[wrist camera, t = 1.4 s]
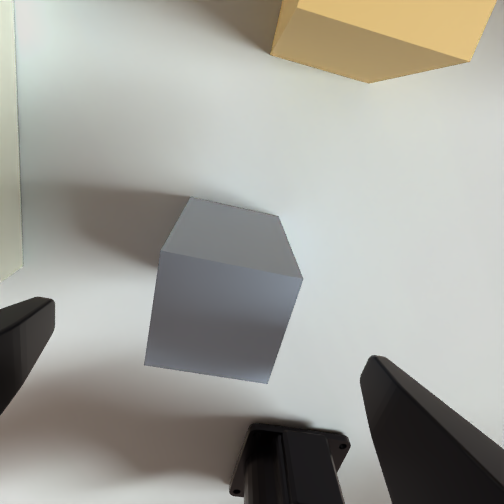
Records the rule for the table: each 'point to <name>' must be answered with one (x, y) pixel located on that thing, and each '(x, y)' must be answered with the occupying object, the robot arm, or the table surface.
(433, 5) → the ochre block
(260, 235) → the slate block
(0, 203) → the tray
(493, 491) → the robot arm
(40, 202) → the table surface
